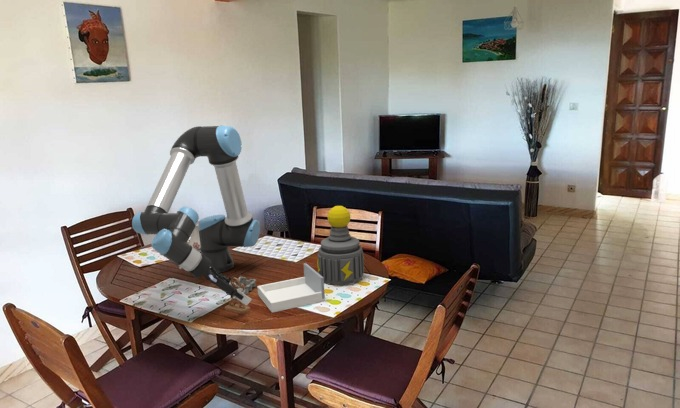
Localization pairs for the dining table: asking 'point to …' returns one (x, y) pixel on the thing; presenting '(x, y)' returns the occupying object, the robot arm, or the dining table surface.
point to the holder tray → (293, 291)
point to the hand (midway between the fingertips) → (245, 297)
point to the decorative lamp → (340, 251)
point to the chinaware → (195, 239)
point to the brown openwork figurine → (237, 307)
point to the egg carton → (247, 283)
